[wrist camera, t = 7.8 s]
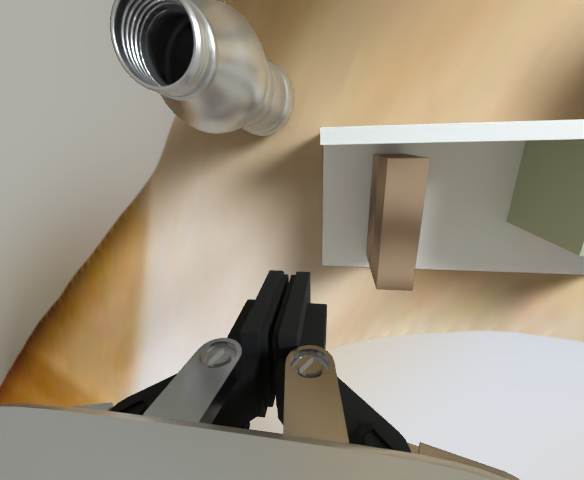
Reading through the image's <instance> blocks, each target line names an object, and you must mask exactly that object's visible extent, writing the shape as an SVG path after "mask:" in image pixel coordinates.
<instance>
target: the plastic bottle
mask: <svg viewBox="0 0 584 480" xmlns="http://www.w3.org/2000/svg"><path fill="white" fill-rule="evenodd" d="M110 32H111V40H112V43H113V47H114V50H115V53H116V55H117V57H118V60H119V61H120V63H121V65H122V66H123V68H124V69H125V71H126V72H127V73H128V74H129V75H130V76H131V77H132V78H133V79H134V80H135V81H137V82H138V83H139V84H141V85H142V86H144V87H146V88H148V89H150V90H153V91H156V92H158V93H159V94H161V96H162V97H163V99H164V101H165V103H166V104H167V105H168V107H169V108H170V109H171V110H172V111H173V112H174V113H175V114H176V115H177V116H178V117H180V118H181V119H182V120H183V121H184V122H186V123H187V124H188V125H190V126H192V127H193V128H195V129H197V130H200V131H203V132H206V133H213V134H220V133H227V132H232V131H235V130H237V129H240V128H242V129H244V130H246V131H247V132H249V133H251V134H254V135H257V136H267V135H271V134H274V133H276V132H278V131H279V130H281V129H282V128H283V127H284V126H285V125H286V123H287V122H288V120H289V119H290V116H291V114H292V111H293V107H294V90H293V86H292V83H291V81H290V79H289V77H288V75H287V73H286V72H285V71H284V69H283V68H281V67H280V66H279V65H278V64H276V63H275V62H273V61H271V60H269V59H266V57H265V54H264V50H263V47H262V45H261V43H260V41H259V39H258V37H257V35H256V33H255V31H254V29H253V28H252V26H251V25H250V24H249V22H248V21H247V20H246V18H245V17H244V16H243V15H242V14H240V13H239V12H238V11H237V10H236V9H235V8H233V7H231V6H230V5H228V4H226V3H224V2H221V1H218V0H115V1H114V4H113V7H112V11H111V17H110Z"/></svg>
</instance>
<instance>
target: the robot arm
mask: <svg viewBox="0 0 584 480" xmlns="http://www.w3.org/2000/svg"><path fill="white" fill-rule="evenodd" d="M326 320H327V304H313V303H310V272H296V275H291V278H290V281H289V278H288V275H286V274H284V272H283V271H273V270H270V271H269V273H268V275H267V277H266V279H265V281H264V283H263V286H262V288H261V290H260V292H259V294H258V296H257V298H256V300H247V302H246V303H245V305H244V307H243V309H242V311H241V313H240V315H239V316H238V318H237V320H236V322H235V324H234V326H233V328H232V329H231V331H230V333H229V335H228V337H227V338H219V339H215V340H212V341H209V342H207V343H206V344H204V345H203V346H202V347H200V348H199V349H198V350H197V352H196V353H195V354H194V355H193V356H192V357H191V359H190V360H189V361H188V362H187V363H186V364H185V366H184V367H183V368H182V369H181V370H180V371H179V373H178V374H175V375H173V376H171V377H169V378H167V379H165V380H163V381H161V382H159V383H157V384H155V385H152V386H150V387H148V388H146V389H144V390H142V391H140V392H138V393H136V394H134V395H131V396H129V397H127V398H126V399H124V400H122V401H121V402H119V403H118V404H116V405H115V406H113V403H102V404H92V405H82V406H72V407H68V406H59V405H47V404H31V403H16V404H0V480H519V479H518V478H516V477H515V476H513V475H511V474H508V473H507V472H505V471H502V470H499V469H496V468H493V467H490V466H487V465H484V464H481V463H478V462H476V461H473V460H470V459H467V458H464V457H461V456H458V455H456V454H452V453H450V452H447V451H444V450H441V449H438V448H435V447H432V446H430V445H427V444H424V443H421V442H420V443H419V447H418V446H416V445H413V444H410V443H407V442H406V440H405V439H404V437H403V436H402V435H401V434H400V433H399V432H398V431H397V430H396V429H395V428H394V427H393V426H392V425H391V424H389V423H388V422H387V421H386V420H385V419H384V418H383V417H382V416H380V415H379V414H378V413H377V412H376V411H375V410H374V409H373V408H371V407H370V406H369V405H368V404H367V403H366V402H365V401H364V400H363V399H361V398H360V397H359V396H358V395H357V394H356V393H355V392H353V391H352V390H351V389H350V388H349V387H348V386H347V385H346V384H345V383H344V382H342V381H341V380H340V379H339V378H338V377H337V374H336V369H335V364H334V360H333V357H332V356H331V355H330V353H328V351H326V350H325V346H326ZM275 396H276V405H277V408H278V418H279V420H280V421H281V422H282V424H283V425H284V426H283V434H278V433H272V432H264V431H257V430H250V429H249V428H250V421H251V420H252V419H254V418H255V417H257V416H258V417H265V415H266V411H267V407H273V404H274V400H275Z"/></svg>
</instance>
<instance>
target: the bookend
mask: <svg viewBox="0 0 584 480" xmlns="http://www.w3.org/2000/svg"><path fill="white" fill-rule="evenodd" d="M429 164H430V158H426V157H421V156H415V155H410V154H373V164H372V179H371V193H370V207H369V222H368V236H367V250H366V256H367V259H368V262H369V266H370V269H371V272H372V276H373V279H374V282H375V286H376V289H385V290H407V291H412V290H413V282H414V275H415V267H416V260H417V253H418V245H419V238H420V230H421V223H422V216H423V208H424V201H425V193H426V186H427V179H428V171H429Z"/></svg>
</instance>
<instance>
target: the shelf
mask: <svg viewBox="0 0 584 480" xmlns="http://www.w3.org/2000/svg"><path fill="white" fill-rule="evenodd" d="M320 145H324V158H323V230H322V265H324V266H352V267H370V266H369V262H368V259H367V256H366V250H367V236H368V222H369V207H370V193H371V179H372V164H373V154H410V155H415V156H421V157H426V158H430V164H429V171H428V179H427V186H426V193H425V201H424V208H423V216H422V223H421V230H420V238H419V245H418V253H417V260H416V267H415V269H438V270H466V271H494V272H523V273H551V274H580V275H584V119H578V120H545V121H512V122H479V123H447V124H414V125H381V126H349V127H320Z"/></svg>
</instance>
